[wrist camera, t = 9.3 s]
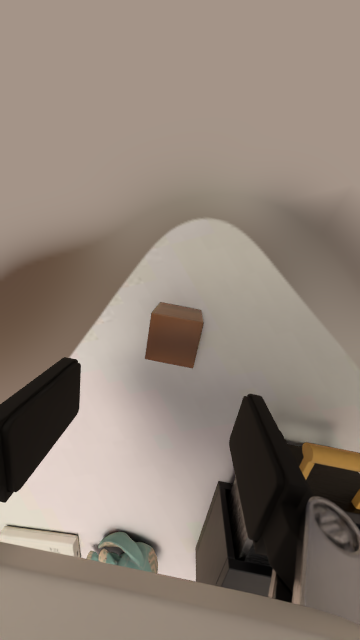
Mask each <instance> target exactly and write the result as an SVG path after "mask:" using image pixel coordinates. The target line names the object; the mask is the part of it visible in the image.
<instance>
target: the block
mask: <svg viewBox="0 0 360 640" xmlns="http://www.w3.org/2000/svg"><path fill="white" fill-rule="evenodd" d="M202 328H203V317H202V312H201V310H198V309H193V308H188V307H183V306H178V305H173V304H167V303H162V302H160V303H159V304H158V306H157V307H156V308H155V309H154V311H153V312H152V313H151V320H150V327H149V334H148V341H147V348H146V355H145V359H148V360H153V361H158V362H163V363H168V364H173V365H178V366H184V367H189V368H193V367H194V362H195V358H196V354H197V349H198V345H199V341H200V336H201V332H202Z"/></svg>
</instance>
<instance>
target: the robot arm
mask: <svg viewBox="0 0 360 640" xmlns="http://www.w3.org/2000/svg"><path fill="white" fill-rule="evenodd" d="M80 373H81V365H80V363H78V361H77V360H76V359H71V358H66V357H64V358H62V359H61V360H60V361H58V362H57V363H56V364H54V365H53V366H52V367H50V368H49V369H47V370H46V371H45V372H43V373H42V374H41V375H39V376H38V377H37V378H35V379H34V380H33V381H31V382H30V383H29V384H27V385H26V386H25V387H23V388H22V389H20V390H19V391H18V392H17V393H15V394H14V395H12V396H11V397H10V398H8V399H7V400H6V401H4V402H3V403H2V404H0V502H6V501H7V500H8V499H9V497H10V496H11V495H12V493H13V492H17V491H19V490H20V489H21V488H22V486H23V485H24V484H25V482H26V481H27V480H28V478H29V477H30V476H31V474H32V473H33V472H34V470H35V469H36V468H37V467H38V465H39V464H40V463H41V461H42V460H43V459H44V457H45V456H46V455H47V453H48V452H49V451H50V449H51V448H52V447H53V445H54V444H55V443H56V441H57V440H58V439H59V438H60V436H61V435H62V434H63V432H64V431H65V430H66V428H67V427H68V426H69V424H70V423H71V422H72V420H73V419H74V418H75V416H76V415H77V413H78V411H79V400H80ZM229 445H230V451H231V456H232V461H233V466H234V471H235V476H236V481H237V486H238V491H239V496H240V501H241V506H242V511H243V516H244V521H245V526H246V531H247V535H248V538H249V539H250V540H253V545H254V550H255V553H256V554H261V555H266V556H268V560H269V564H270V566H271V567H272V568H273V570H272V576H271V582H270V587H269V593H268V597H264V596H260V595H256V594H251V593H247V592H242V591H237V590H233V589H228V588H223V587H218V586H214V585H209V584H204V583H200V582H195V581H190V580H186V579H181V578H176V577H171V576H167V575H162V574H157V573H152V572H147V571H142V570H138V569H133V568H128V567H123V566H118V565H113V564H108V563H104V562H99V561H94V560H89V559H84V558H79V557H74V556H69V555H64V554H59V553H55V552H50V551H44V550H39V549H34V548H29V547H24V546H19V545H14V544H9V543H4V542H0V640H360V531H359V529H358V527H357V526H356V525H355V523H354V522H353V521H352V519H351V518H350V517H349V516H348V515H347V514H346V513H345V512H344V511H343V510H342V509H341V508H339V507H338V506H337V505H336V504H334V503H333V502H331V501H329V500H327V499H326V498H322V497H319V496H314V495H313V493H312V491H311V489H310V487H309V485H308V483H307V481H306V479H305V477H304V475H303V473H302V471H301V470H300V468H299V466H298V464H297V462H296V460H295V458H294V456H293V454H292V452H291V450H290V448H289V446H288V444H287V443H286V441H285V439H284V437H283V435H282V433H281V432H280V430H279V429H278V427H277V425H276V423H275V421H274V419H273V417H272V415H271V413H270V411H269V409H268V407H267V405H266V403H265V402H264V400H263V398H262V396H258V395H253V394H248V395H247V396H244V398H243V400H242V403H241V406H240V409H239V412H238V415H237V418H236V421H235V424H234V427H233V430H232V433H231V436H230V440H229Z"/></svg>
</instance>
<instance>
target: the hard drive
mask: <svg viewBox="0 0 360 640" xmlns="http://www.w3.org/2000/svg"><path fill="white" fill-rule="evenodd" d="M0 542H4V543H9V544H14V545H19V546H24V547H29V548H34V549H39V550H44V551H50V552H55V553H59V554H64V555H69V556H74V557H79V558H81V557H80V548H79V541H78V536H77V535H71V534H64V533H57V532H49V531H41V530H33V529H26V528H18V527H10V526H5V527H4V528H3V530H2V531H1V532H0Z"/></svg>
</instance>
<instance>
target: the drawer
mask: <svg viewBox="0 0 360 640" xmlns="http://www.w3.org/2000/svg"><path fill="white" fill-rule="evenodd" d="M288 446H289V448H290V450H291V452H292V454H293V456H294V458H295V460H296V462H297V464H298V466H299V468H300V470H301V471H302V473H303V475H304V477H305V479H306V481H307V483H308V485H309V487H310V489H311V491H312V493H313V495H314V496H319V497H322V498H326V499H327V500H329V501H331V502H333V503H334V504H336V505H337V506H338V507H339V508H341V509H342V510H343V511H344V512H345V513H346V514H347V515H348V516H349V517H350V518H351V519H352V521H353V522H354V523H355V525H356V526H357V527H358V529H359V531H360V474H359V472H360V453H358V452H353V451H348V450H343V449H338V448H332V447H327V446H322V445H317V444H312V443H307V442H305V443H304V444H303V446H302V447H300V446H295V445H290V444H288ZM227 506H228V513H229V520H230V527H231V534H232V541H233V548H234V555H235V559H236V560H241V561H246V562H250V563H255V564H260V565H265V566H270V564H269V560H268V556H266V555H261V554H256V553H255V550H254V545H253V540H250V539H249V538H248V535H247V531H246V526H245V521H244V516H243V511H242V506H241V501H240V496H239V491H238V486H237V481H236V477H235V480H234V483H233V485H232V488H231V491H230V493H229V496H228V499H227ZM270 567H271V566H270Z"/></svg>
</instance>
